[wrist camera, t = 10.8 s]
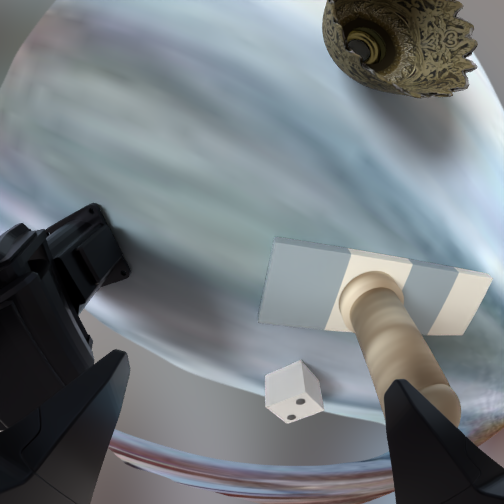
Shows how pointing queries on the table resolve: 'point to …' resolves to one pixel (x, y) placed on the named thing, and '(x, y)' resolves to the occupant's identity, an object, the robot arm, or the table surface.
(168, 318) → the table surface
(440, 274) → the board
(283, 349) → the table surface
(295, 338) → the table surface
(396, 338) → the round-topped post
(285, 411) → the die
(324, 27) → the cup
